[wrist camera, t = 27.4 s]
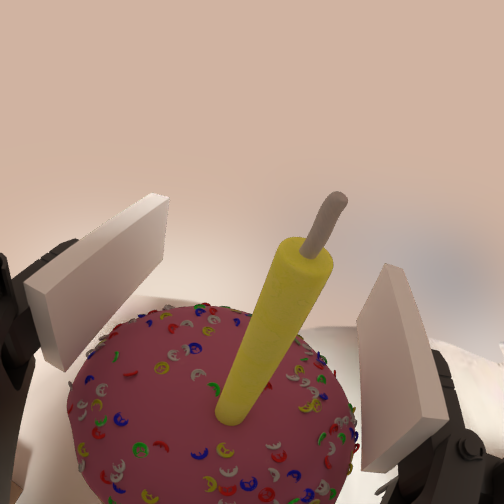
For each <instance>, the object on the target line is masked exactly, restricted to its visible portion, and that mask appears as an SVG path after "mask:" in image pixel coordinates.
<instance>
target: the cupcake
mask: <svg viewBox="0 0 504 504" xmlns="http://www.w3.org/2000/svg"><path fill="white" fill-rule="evenodd" d="M347 203H348V199H347V197H346V196H345V195H344V194H343V193H341V192H338V191H336V192H333V193H331V194H330V195H329V196H328V197H327V198H326V199H325V201H324V202H323V204H322V206H321V208H320V209H319V212H318V214H317V216H316V219H315V221H314V224H313V226H312V228H311V230H310V232H309V234H308V236H307V238H302V237H290V238H287V239H285V240H284V241H282V242H281V243H280V245H279V247H278V249H277V251H276V254H275V256H274V259H273V262H272V264H271V267H270V270H269V272H268V275H267V278H266V281H265V283H264V286H263V288H262V291H261V294H260V296H259V299H258V302H257V304H256V307H255V309H254V312H253V314H250V313H246V312H243V311H239V310H235V309H231V308H230V307H227V306H220V307H217V306H211V305H210V304H209V303H202V304H198V305H195V306H191V307H179V308H175V307H173V306H171V305H165V307H164V308H163V310H162V311H157V310H153V311H150V312H149V313H148V315H145V314H140V315H138V317H139V318H137V319H131V320H130V321H129V322H126V323H123V324H118V325H117V326H116V327H115V328H114V329H113V331H112V332H110V334H109V335H104V336H102V337H100V338H99V340H100V341H101V342H100V343H99V344H98V345H97V346H96V347H95V349H91V350H89V351H88V352H87V353H86V357H88V358H87V360H86V361H85V363H84V364H83V366H82V367H81V369H80V371H79V373H78V374H77V376H76V378H75V380H74V382H73V384H72V383H71V382H70V381H68V384H69V387H70V392H69V395H68V399H67V413H68V417H69V420H70V423H71V428H72V434H73V439H74V445H75V451H76V456H77V460H78V464H79V472H81V473H82V475H83V477H84V479H85V481H86V483H87V484H88V485H89V487H90V488H91V489H92V491H93V492H94V493H95V494H96V495H97V496H98V498H99V499H100V500H101V502H102V503H103V504H335V502H336V500H337V498H338V496H339V494H340V492H341V489H342V487H343V485H344V482H345V480H346V477H347V475H349V474H350V473H351V472H352V469H353V465H352V464H351V462H352V459H353V455H354V453H355V452H357V450H358V449H359V447H360V444H358V443H357V444H355V442H356V441H357V439H358V432H357V431H356V432H355V427H356V425H357V420H355V416H354V412H355V409H356V407H354V408H353V407H352V405H351V404H350V403H349V402H348V399H347V397H346V395H345V393H344V391H343V389H342V386H341V385H340V384H339V382H338V381H337V379H336V370H334V375H333V373H332V372H331V370H330V369H329V368H328V366H327V365H326V364H327V360H326V358H325V357H324V356H322V355H320V352H318V353H316V352H315V351H314V350H313V349H312V348H311V347H310V346H309V345H308V344H307V343H306V342H305V341H304V340H303V338H302V337H301V336H300V335H298V332H299V330H300V328H301V327H302V325H303V323H304V321H305V320H306V318H307V316H308V314H309V313H310V311H311V309H312V307H313V305H314V304H315V302H316V300H317V298H318V296H319V295H320V293H321V291H322V289H323V287H324V285H325V284H326V282H327V280H328V278H329V276H330V274H331V272H332V269H333V259H332V257H331V256H330V254H329V252H328V251H327V250H326V249H325V248H324V245H325V244H326V242H327V240H328V239H329V237H330V235H331V233H332V231H333V228H334V226H335V224H336V221H337V219H338V218H339V216H340V214H341V212H342V211H343V210H344V208H345V207H346V205H347ZM165 309H166V310H165ZM153 312H154V313H153ZM102 340H103V341H102ZM92 351H93V352H92ZM91 352H92V353H91ZM89 353H91V354H90V355H89ZM321 358H323V359H321ZM324 361H325V362H324ZM354 423H355V424H354ZM355 437H356V438H355ZM356 447H357V448H356ZM355 448H356V449H355ZM349 469H350V471H349Z"/></svg>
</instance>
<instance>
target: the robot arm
mask: <svg viewBox="0 0 504 504" xmlns="http://www.w3.org/2000/svg"><path fill="white" fill-rule="evenodd" d="M169 199H170V198H169V197H166V196H162V195H158V194H155V193H151V194H149V195H147V196H146V197H144V198H142V199H141V200H139V201H138V202H136V203H134V204H133V205H131V206H130V207H128V208H127V209H125V210H123V211H122V212H120V213H119V214H117V215H116V216H114V217H113V218H111V219H110V220H108V221H107V222H105V223H104V224H102V225H101V226H99V227H98V228H96V229H95V230H93V231H92V232H90V233H89V234H88V235H86V236H85V237H83V238H82V239H80V240H78V239H72V240H69V241H66V242H63V243H61V244H59V245H58V246H57V247H55V248H53V249H52V250H51V251H50V252H49V253H46V254H45V255H44V256H42V257H41V259H40V260H39V259H38V260H37V261H35V262H34V263H33V264H31V265H30V266H29V267H27V268H26V269H25V270H23V271H22V272H21V273H19V274H18V275H17V276H15V277H14V278H13V279H11V276H10V272H9V267H8V262H7V258H6V257H5V256H4V255H3V254H2V253H0V504H9V503H10V491H11V481H12V473H13V465H14V458H15V452H16V446H17V440H18V435H19V430H20V425H21V420H22V415H23V411H24V407H25V403H26V398H27V394H28V391H29V387H30V383H31V379H32V376H33V372H34V369H35V361H36V360H35V358H34V355H33V354H34V353H35V352H36V351H37V350H38V349H39V348H40V347H41V350H42V353H43V356H44V359H45V361H47V362H48V363H50V364H51V365H53V366H55V367H56V368H58V369H60V370H61V371H63V372H66V371H67V370H68V368H69V367H70V366H71V365H72V363H73V362H74V361H75V360H76V359H77V357H78V356H79V355H80V354H81V353H82V351H83V350H84V349H85V348H86V346H87V345H88V344H89V343H90V342H91V340H92V339H93V338H94V337H95V336H96V335H97V333H98V332H99V331H100V330H101V329H102V328H103V326H104V325H105V324H106V323H107V322H108V321H109V319H110V318H111V317H112V316H113V315H114V314H115V312H116V311H117V310H118V309H119V308H120V307H121V306H122V304H123V303H124V302H125V301H126V300H127V299H128V298H129V297H130V295H131V294H132V293H133V292H134V291H135V290H136V289H137V288H138V286H139V285H140V284H141V283H142V282H143V281H144V280H145V279H146V278H147V276H148V275H149V274H150V273H151V272H152V271H153V270H154V269H155V268H156V267H157V265H158V264H159V263H160V262H161V261H162V260H163V252H164V242H165V232H166V224H167V215H168V207H169ZM356 321H357V333H358V347H359V363H360V383H361V417H362V453H361V471H364V472H374V473H387V472H388V471H389V470H391V469H392V468H394V467H395V466H396V465H397V464H398V476H397V477H395V478H394V479H392V480H391V481H389V482H388V483H386V484H385V485H383V486H382V487H380V488H379V489H378V490H377V491H376V492H375V495H377V496H378V495H379V494H381V493H382V492H384V491H386V492H385V494H384V496H383V497H382V498H383V499H382V501H381V503H380V504H504V458H503V459H500V458H498V457H495V456H492V455H490V454H487V453H486V449H485V446H484V444H483V441H482V440H481V439H480V437H479V436H478V435H477V434H476V433H474V432H473V431H472V430H469V429H466V428H465V425H464V421H463V416H462V412H461V409H460V405H459V401H458V397H457V394H456V390H454V388H455V387H454V383H453V380H452V379H451V377H452V376H451V373H450V370H449V367H448V364H447V362H446V361H445V359H444V358H443V356H442V355H441V353H440V352H439V351H437V350H433V349H431V348H430V344H429V341H428V338H427V335H426V332H425V329H424V326H423V323H422V320H421V317H420V314H419V311H418V308H417V305H416V302H415V300H414V297H413V295H412V291H411V289H410V286H409V283H408V281H407V278H406V276H405V273H404V271H403V269H401V268H399V267H395V266H393V265H389V264H386V263H385V264H384V266H383V268H382V271H381V272H380V275H379V277H378V279H377V281H376V283H375V285H374V287H373V289H372V291H371V293H370V295H369V297H368V299H367V301H366V303H365V305H364V307H363V309H362V311H361V313H360V314H359V316H358V318H357V320H356Z"/></svg>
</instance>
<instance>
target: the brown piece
mask: <svg viewBox="0 0 504 504" xmlns="http://www.w3.org/2000/svg"><path fill="white" fill-rule="evenodd" d="M22 491H23V489H22V488H20V487H19V486H18V485H17V484H15V483H14V482H13V481H11V491H10V503H9V504H15V503H16V501H17V499H18V498H19V496H20V494H21V493H22Z"/></svg>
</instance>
